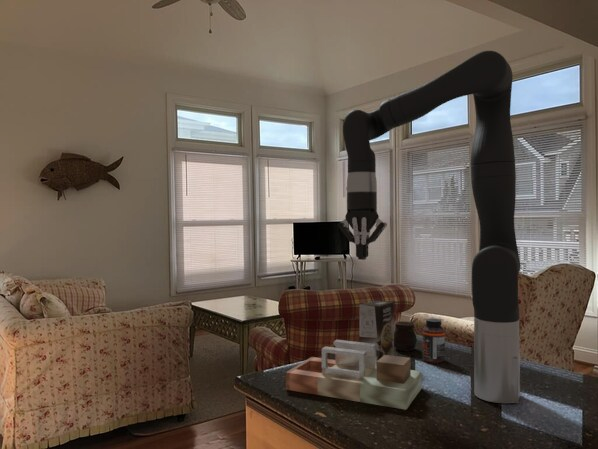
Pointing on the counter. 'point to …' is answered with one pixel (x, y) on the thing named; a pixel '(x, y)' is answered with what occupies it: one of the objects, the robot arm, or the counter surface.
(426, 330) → the supplement bottle
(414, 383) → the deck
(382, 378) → the walnut block
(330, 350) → the tunnel
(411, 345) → the mate gourd
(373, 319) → the coffee box
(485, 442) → the counter surface
